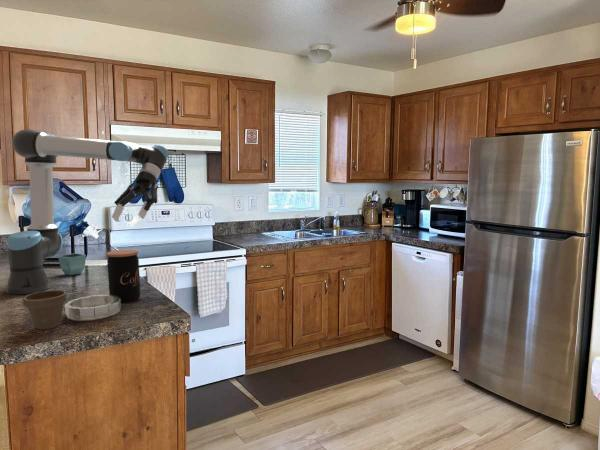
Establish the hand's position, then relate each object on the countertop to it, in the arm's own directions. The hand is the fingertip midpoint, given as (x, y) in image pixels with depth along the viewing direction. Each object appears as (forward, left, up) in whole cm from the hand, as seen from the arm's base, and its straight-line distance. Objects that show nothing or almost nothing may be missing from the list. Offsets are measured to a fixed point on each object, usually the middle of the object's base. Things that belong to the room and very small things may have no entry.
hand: (127, 217), depth 180 cm
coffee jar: (+6, -11, -30) cm, 32 cm away
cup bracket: (+7, -27, -29) cm, 41 cm away
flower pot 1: (+4, -43, -30) cm, 52 cm away
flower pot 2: (-49, +19, -30) cm, 60 cm away
